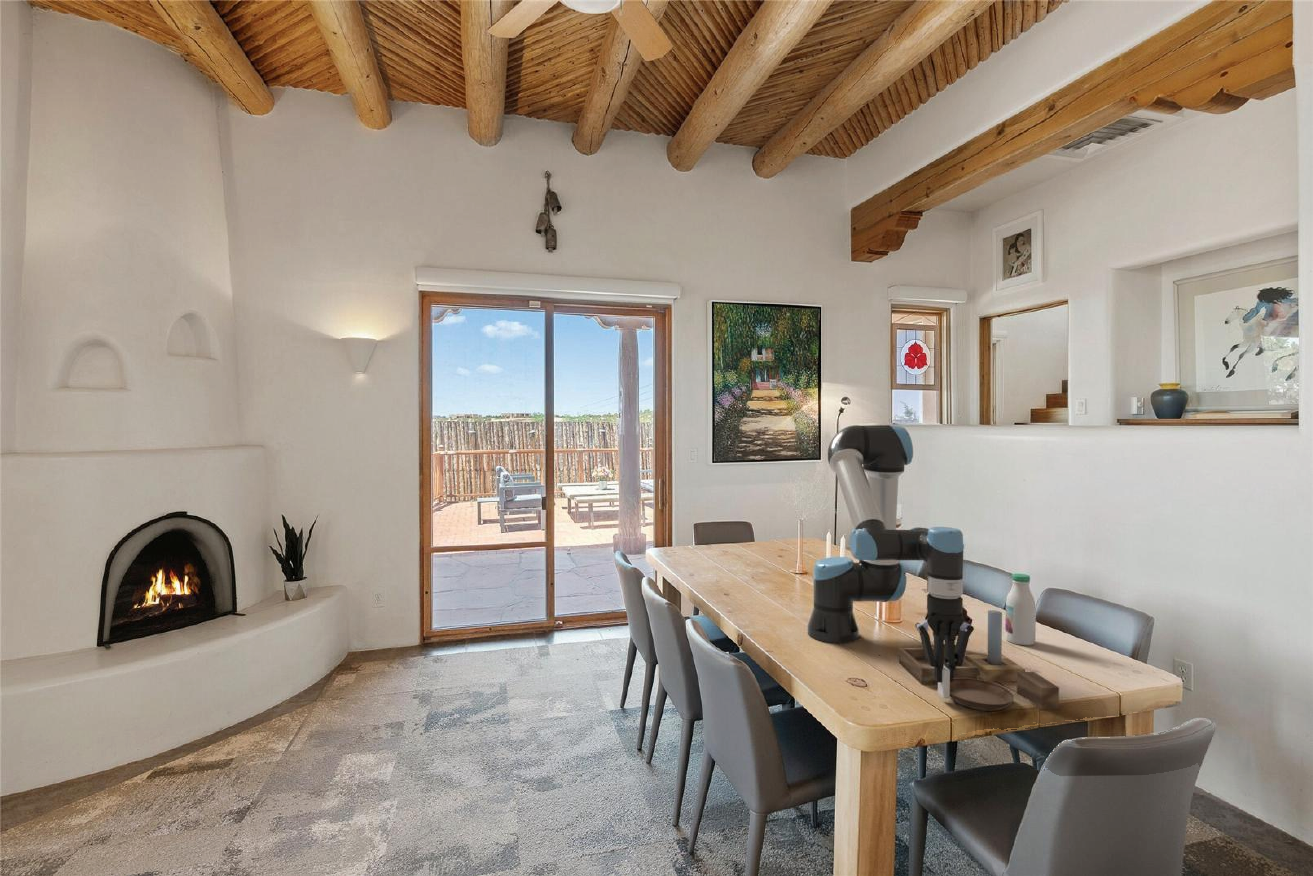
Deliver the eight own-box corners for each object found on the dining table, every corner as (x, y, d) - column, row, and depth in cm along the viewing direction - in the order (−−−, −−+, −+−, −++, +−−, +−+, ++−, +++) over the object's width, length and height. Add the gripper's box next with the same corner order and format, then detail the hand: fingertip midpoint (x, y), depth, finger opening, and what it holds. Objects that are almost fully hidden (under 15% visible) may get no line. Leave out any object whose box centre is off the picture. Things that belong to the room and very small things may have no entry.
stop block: (1041, 709, 140) (1041, 687, 139) (1017, 692, 149) (1017, 671, 148) (1058, 709, 140) (1058, 687, 140) (1033, 692, 149) (1033, 671, 149)
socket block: (985, 681, 155) (986, 669, 155) (965, 665, 165) (965, 654, 165) (1025, 681, 155) (1025, 669, 155) (1002, 665, 165) (1002, 654, 165)
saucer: (940, 684, 153) (940, 673, 153) (1008, 693, 148) (1008, 682, 148) (944, 709, 140) (945, 697, 140) (1019, 721, 134) (1019, 708, 134)
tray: (921, 684, 153) (921, 668, 153) (898, 662, 167) (898, 648, 167) (977, 684, 153) (977, 668, 153) (949, 662, 167) (949, 647, 167)
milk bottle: (1038, 641, 184) (1038, 574, 183) (1032, 648, 178) (1032, 579, 178) (1009, 635, 189) (1009, 570, 188) (1002, 641, 183) (1002, 575, 183)
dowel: (991, 675, 158) (992, 614, 158) (984, 670, 162) (985, 610, 161) (1003, 675, 158) (1004, 613, 158) (996, 670, 162) (997, 610, 161)
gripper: (923, 599, 139) (922, 702, 140) (981, 599, 139) (979, 702, 140) (910, 590, 147) (909, 688, 147) (964, 590, 147) (963, 688, 147)
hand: (943, 695), depth 144 cm, fingers closed
